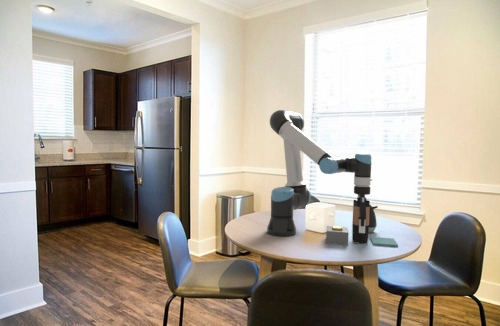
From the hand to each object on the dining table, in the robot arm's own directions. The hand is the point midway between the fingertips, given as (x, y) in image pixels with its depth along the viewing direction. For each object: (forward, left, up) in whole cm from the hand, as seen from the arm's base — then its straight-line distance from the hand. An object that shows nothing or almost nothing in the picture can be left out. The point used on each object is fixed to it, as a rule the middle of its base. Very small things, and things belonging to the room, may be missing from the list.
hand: (360, 229), depth 168 cm
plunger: (-11, -3, -5) cm, 13 cm away
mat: (+11, +1, -6) cm, 13 cm away
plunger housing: (-11, -3, -6) cm, 13 cm away
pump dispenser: (+5, +20, -6) cm, 22 cm away
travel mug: (0, 0, -6) cm, 6 cm away
